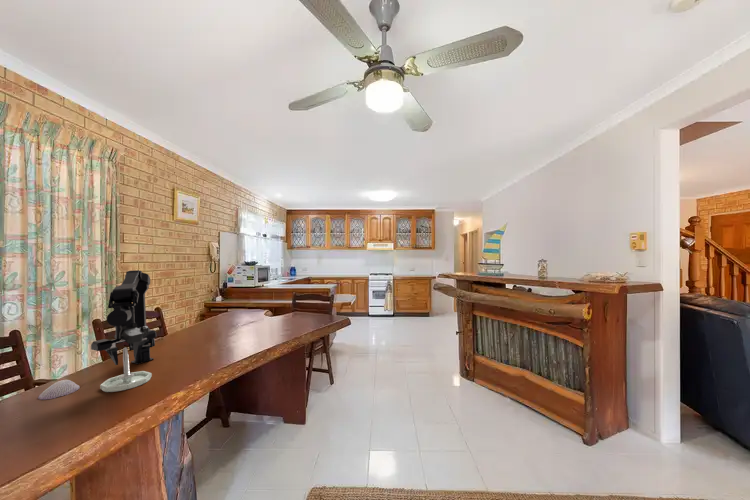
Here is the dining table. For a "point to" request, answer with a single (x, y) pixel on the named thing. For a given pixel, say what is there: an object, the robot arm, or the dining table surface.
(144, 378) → the dish
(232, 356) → the dining table surface
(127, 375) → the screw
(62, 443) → the dining table surface
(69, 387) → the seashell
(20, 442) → the dining table surface
